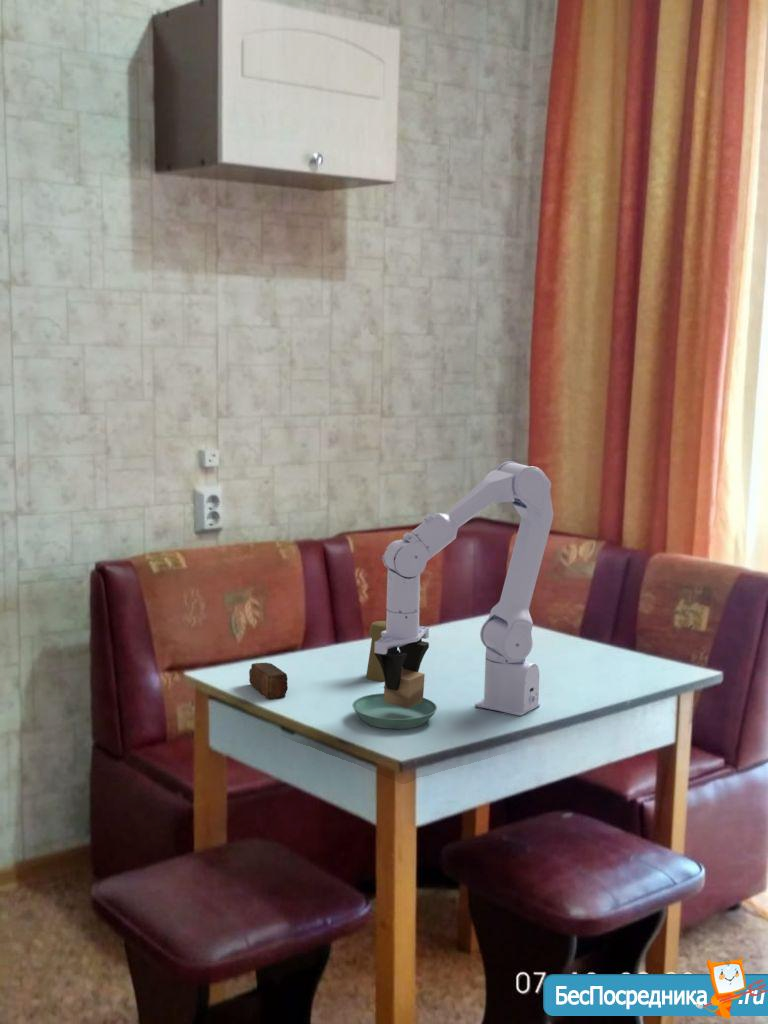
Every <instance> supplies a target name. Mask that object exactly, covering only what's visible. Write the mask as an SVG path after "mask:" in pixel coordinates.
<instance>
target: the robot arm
mask: <svg viewBox="0 0 768 1024" xmlns="http://www.w3.org/2000/svg"><path fill="white" fill-rule="evenodd" d="M551 488H552V482H551V481H550V479H549V478H548V477H547V475H546V474H545V472H544V471H543V470H542V469H541V468H540V467H537V466H532V465H531V466H529V465H524V464H522V463H518V462H516V461H505V462H503V463H502V464H499V466H498V467H497V468H496V469H493V470H492V471H490V472H488V474H487V475H486V476H485V478H484V479H483V480H482V481H481V482H480V483H478V484H477V485H476V486H475V487H474V488H473V489H472V490H470V491H469V492H468V493H467V494H466V495H465V496H464V497H462V498H461V499H460V500H459V501H458V502H457V503H455V505H453V506H452V507H451V508H450V509H449V510H448V511H446V512H445V513H441V512H434V514H430V513H428V514H426V516H424V517H423V520H424V521H423V522H422V523H421V524H419V525H418V526H416V528H414V529H413V530H412V531H410V532H405V533H404V534H403V535H402V538H403V539H396V540H393V541H392V542H391V543H390V544H388V546H387V547H386V548H385V549H386V550H385V551H384V554H383V555H382V556H381V559H382V563H383V565H384V567H386V568H387V580H386V581H387V583H386V620H385V621H386V630H385V631H382V632H381V636H382V637H381V638H380V639H379V640H378V641H376V642H375V656H376V657H377V659H378V661H379V663H380V665H381V668H382V671H383V674H384V678H385V681H384V684H385V683H386V687H387V689H391V690H395V691H397V690H398V689H399V686H400V680H401V671H402V668H403V669H407V670H411V671H415V672H419V671H420V668H421V663H422V661H423V659H424V657H425V655H426V652H427V651H428V650H429V648H430V642H428V641H424V640H423V639H425V640H426V639H428V638H429V636H430V635H429V634H430V633H429V632H430V630H429V629H430V628H429V627H428V626H422V625H420V602H421V601H420V599H421V574H422V573H423V572H424V571H425V569H426V567H427V562H428V561H429V560H431V559H432V558H433V557H434V556H435V555H437V554H438V553H439V552H441V551H442V550H443V549H444V548H446V547H447V546H448V545H449V544H451V543H453V541H454V540H456V539H457V534H458V530H459V528H460V527H462V526H463V525H464V524H466V523H467V522H468V521H470V520H471V519H473V518H474V517H475V516H477V515H479V514H480V513H481V512H482V511H483V512H484V510H486V509H487V508H488V507H490V506H491V505H492V504H495V503H496V504H497V503H511V504H512V506H513V507H514V508H515V510H516V512H517V513H518V515H519V516H520V518H521V519H520V523H519V527H518V530H517V535H516V537H515V542H514V545H513V549H512V552H511V553H512V554H511V557H510V561H509V564H508V568H507V573H506V577H505V580H504V583H503V588H502V591H501V594H500V595H501V596H500V599H499V601H498V602H497V603H496V604H495V605H494V606H493V607H492V608H490V612H489V615H488V618H487V619H486V620H485V622H484V623H483V624H482V626H481V628H480V633H479V635H480V641H481V643H482V644H483V646H485V661H484V665H485V666H484V691H483V699H480V700H479V701H477V702H475V703H474V707H478V708H483V709H487V710H492V711H497V712H502V713H504V714H505V713H506V714H511V715H516V716H524V715H525V714H526V713H528V712H530V711H532V710H534V709H536V708H537V707H539V706H541V702H539V695H540V690H539V689H540V669H539V666H538V665H537V663H534V662H530V661H528V660H527V659H526V658H527V657H528V656H529V655H530V653H531V651H532V648H533V638H532V632H533V631H532V630H533V625H534V622H533V619H532V617H531V613H530V606H531V602H532V599H533V595H534V590H535V588H536V582H537V581H538V575H539V572H540V568H541V565H542V561H543V557H544V554H545V549H546V546H547V542H548V539H549V535H550V530H551V527H552V524H553V519H554V515H555V514H554V508H553V502H552V495H551ZM422 640H423V641H422Z"/></svg>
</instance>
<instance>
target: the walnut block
mask: <svg viewBox="0 0 768 1024" xmlns="http://www.w3.org/2000/svg"><path fill="white" fill-rule="evenodd" d="M383 687H384V688H383V689H384V690H383V693H384V702H386V703H390V704H394V705H398V706H401V707H405V708H409V707H411V706H414V705H416V704H418V703H420V702H422V701H423V698H424V688H425V673H423V672H419V671H418V672H415V671H411V670H407V669H403V668H402V671H401V680H400V686H399V689H398V690H397V691H395V690H391V689H387V687H386V683H385V682H384V686H383Z"/></svg>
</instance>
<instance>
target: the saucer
mask: <svg viewBox="0 0 768 1024" xmlns="http://www.w3.org/2000/svg"><path fill="white" fill-rule="evenodd" d="M352 709H353V710H354V711H355V713H356V714H357V715H358V717H359V718H360V719H362V721H364V722H365V724H368V725H370V726H373V727H377V728H380V729H381V728H382V729H388V730H406V729H411V728H415V727H419V726H423V725H424V724H425V723H427V722H428V721H429V719H431V718H432V717H433V716H434V714H435V713H436V711H437V709H438V706H437V704H436V703H435V702H434V701H432V700H431V699H428V698H426V697H423V701H422V702H420V703H418V704H416V705H414V706H411V707H409V708H405V707H401V706H398V705H394V704H390V703H386V702H384V692H382V693H381V692H380V693H373V694H372V693H371V694H367V695H364V696H361V697H359V698H356V699H355V700H354V701H353V702H352Z"/></svg>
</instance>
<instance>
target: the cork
mask: <svg viewBox="0 0 768 1024" xmlns="http://www.w3.org/2000/svg"><path fill="white" fill-rule="evenodd" d="M385 630H386V620H378V621H377V620H376V621H374V622H372V623H370V625H369V628H368V632H369V633H368V634H369V637H370V638H371V643H370V649H369V655H368V662H367V669H366V676H365V677H367V678H366V679H368V680H370V681H374V680H375V682H385V678H384V674H383V671H382V668H381V665H380V663H379V661H378V659H377V657H376V656H375V642H376V641H378V640H379V639H380V638H381V637H382V636H381V632H382V631H385Z"/></svg>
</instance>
